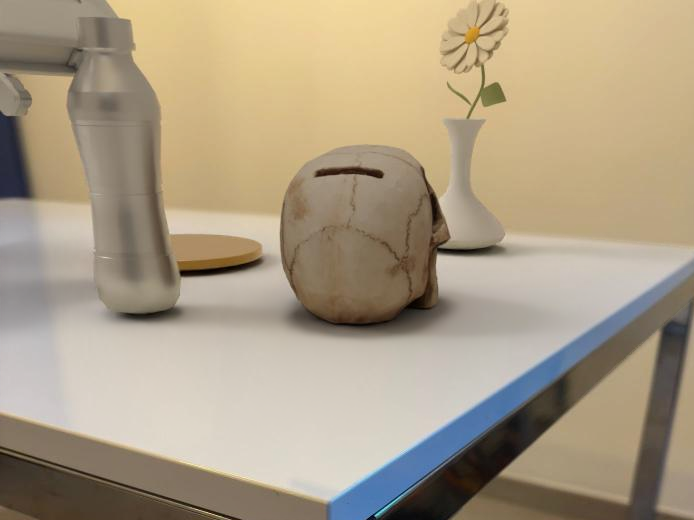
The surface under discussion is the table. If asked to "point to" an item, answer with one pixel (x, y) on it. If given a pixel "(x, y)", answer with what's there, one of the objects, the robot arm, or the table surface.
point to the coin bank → (362, 234)
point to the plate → (213, 251)
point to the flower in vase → (470, 121)
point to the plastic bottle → (122, 170)
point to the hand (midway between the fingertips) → (74, 109)
